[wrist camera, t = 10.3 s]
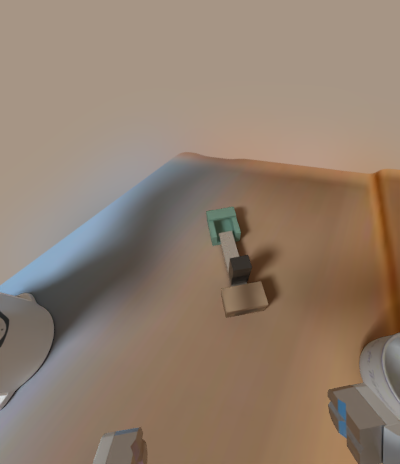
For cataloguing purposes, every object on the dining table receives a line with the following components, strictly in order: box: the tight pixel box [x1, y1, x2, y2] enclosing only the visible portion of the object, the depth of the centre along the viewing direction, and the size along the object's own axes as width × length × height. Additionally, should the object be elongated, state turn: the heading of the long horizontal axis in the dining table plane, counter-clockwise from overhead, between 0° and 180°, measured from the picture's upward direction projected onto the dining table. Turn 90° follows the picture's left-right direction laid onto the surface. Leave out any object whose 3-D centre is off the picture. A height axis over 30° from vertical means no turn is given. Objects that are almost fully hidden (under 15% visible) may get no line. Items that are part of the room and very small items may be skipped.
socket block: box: [221, 281, 268, 318], centre depth 38 cm, size 7×4×4 cm, turn 99°
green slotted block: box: [206, 207, 241, 246], centre depth 47 cm, size 6×7×4 cm
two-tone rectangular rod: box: [219, 231, 252, 287], centre depth 40 cm, size 3×15×9 cm, turn 9°
